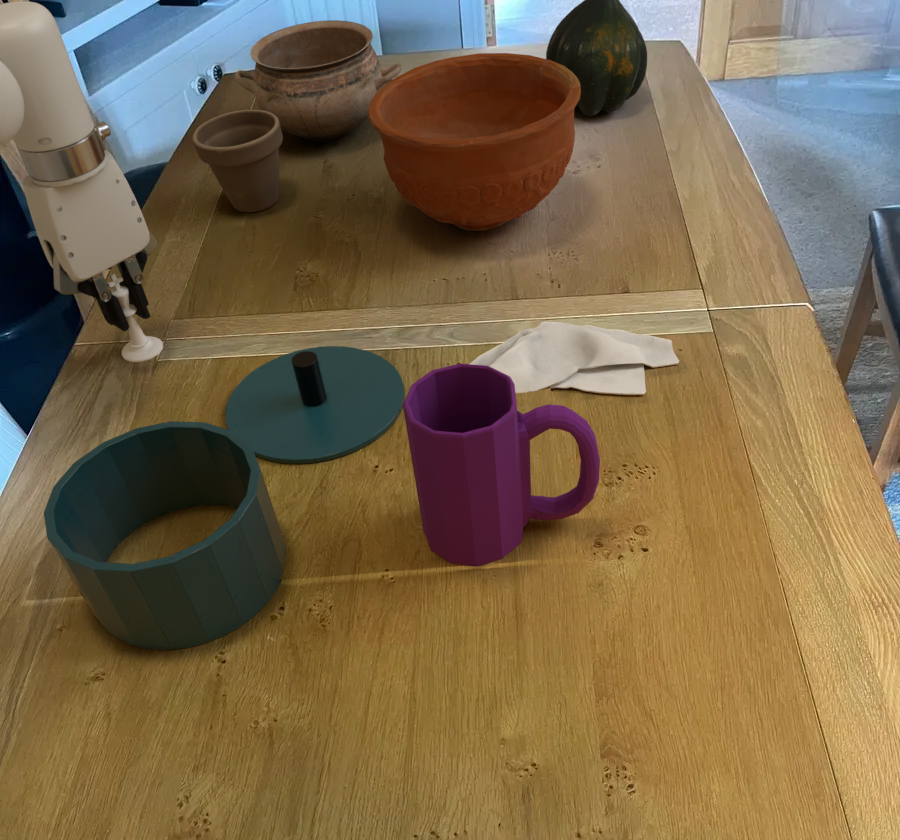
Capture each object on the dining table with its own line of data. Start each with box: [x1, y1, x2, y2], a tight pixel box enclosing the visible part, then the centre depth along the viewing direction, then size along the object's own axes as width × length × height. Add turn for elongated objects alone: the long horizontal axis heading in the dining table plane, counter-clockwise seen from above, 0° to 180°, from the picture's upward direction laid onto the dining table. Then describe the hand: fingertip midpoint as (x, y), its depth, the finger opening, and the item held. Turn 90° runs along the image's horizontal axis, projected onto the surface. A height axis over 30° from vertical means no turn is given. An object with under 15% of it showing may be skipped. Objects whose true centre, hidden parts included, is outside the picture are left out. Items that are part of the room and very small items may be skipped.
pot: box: [43, 420, 287, 651], centre depth 80 cm, size 18×18×10 cm
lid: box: [224, 345, 405, 465], centre depth 95 cm, size 19×19×6 cm
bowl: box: [368, 52, 581, 232], centre depth 115 cm, size 25×25×15 cm
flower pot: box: [192, 109, 284, 213], centre depth 125 cm, size 12×11×10 cm
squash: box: [545, 0, 648, 117], centre depth 135 cm, size 14×15×15 cm
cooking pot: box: [234, 19, 402, 143], centre depth 137 cm, size 25×19×12 cm
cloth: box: [469, 321, 680, 396], centre depth 98 cm, size 26×14×2 cm, turn 88°
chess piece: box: [106, 272, 164, 363], centre depth 104 cm, size 5×5×10 cm
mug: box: [402, 363, 601, 568], centre depth 78 cm, size 9×16×15 cm, turn 92°
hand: (130, 319), depth 104 cm, fingers closed on chess piece
